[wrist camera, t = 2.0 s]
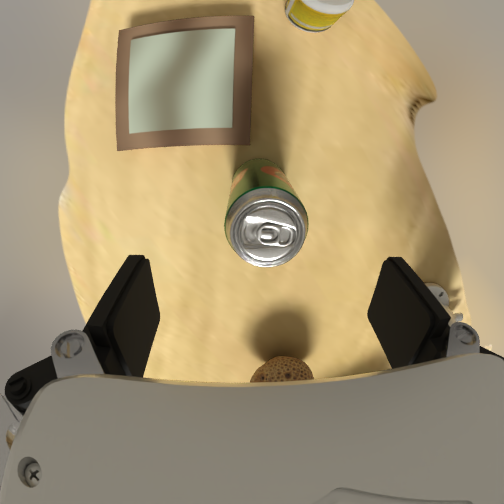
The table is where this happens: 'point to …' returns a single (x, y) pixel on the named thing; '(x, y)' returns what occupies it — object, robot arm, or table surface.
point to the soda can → (264, 215)
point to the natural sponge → (282, 370)
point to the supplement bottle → (316, 13)
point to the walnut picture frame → (185, 83)
